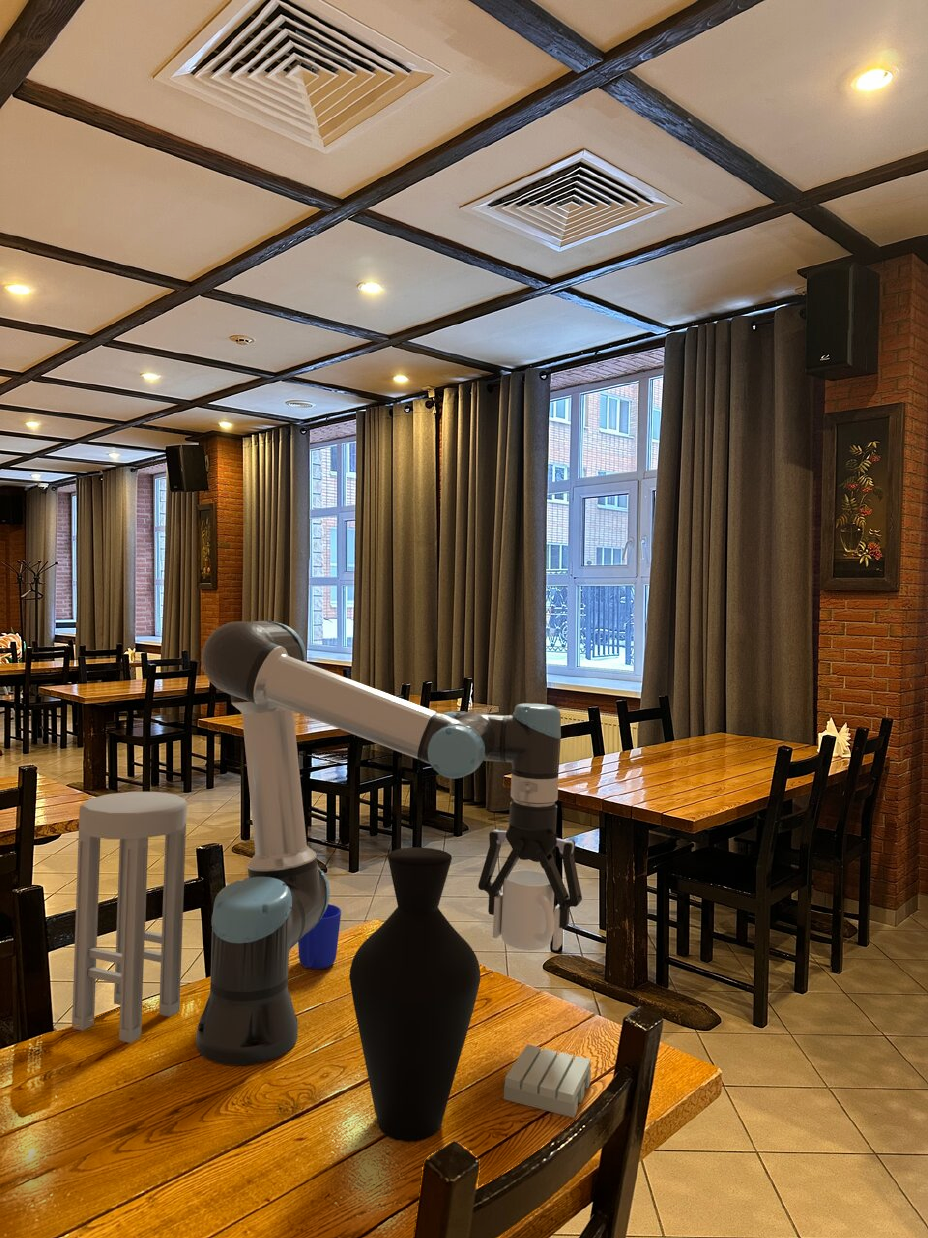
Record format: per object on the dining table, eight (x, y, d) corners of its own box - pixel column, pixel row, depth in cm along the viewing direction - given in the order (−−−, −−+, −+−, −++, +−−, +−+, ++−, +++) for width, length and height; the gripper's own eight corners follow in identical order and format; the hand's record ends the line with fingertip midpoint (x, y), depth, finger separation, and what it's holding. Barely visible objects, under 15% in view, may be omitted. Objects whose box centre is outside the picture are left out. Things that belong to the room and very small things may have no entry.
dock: (502, 1100, 117) (503, 1077, 117) (525, 1065, 126) (525, 1044, 126) (573, 1119, 113) (574, 1095, 113) (590, 1081, 122) (591, 1059, 122)
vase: (355, 1082, 120) (364, 836, 120) (475, 1089, 119) (485, 841, 119) (332, 1160, 103) (343, 873, 103) (473, 1168, 102) (484, 880, 102)
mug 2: (573, 957, 131) (576, 891, 131) (526, 963, 128) (529, 895, 128) (536, 929, 142) (539, 868, 142) (492, 934, 139) (495, 872, 139)
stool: (122, 990, 145) (129, 787, 145) (197, 1008, 140) (205, 797, 140) (51, 1031, 131) (58, 805, 130) (131, 1052, 125) (140, 817, 125)
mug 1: (280, 979, 152) (282, 924, 152) (304, 953, 164) (306, 901, 164) (324, 984, 151) (326, 928, 151) (344, 957, 163) (346, 905, 162)
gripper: (461, 797, 136) (454, 936, 136) (596, 815, 128) (588, 963, 128) (478, 788, 143) (471, 921, 143) (606, 805, 135) (599, 946, 135)
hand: (526, 941), depth 136 cm, fingers closed on mug 2, 9 cm apart
